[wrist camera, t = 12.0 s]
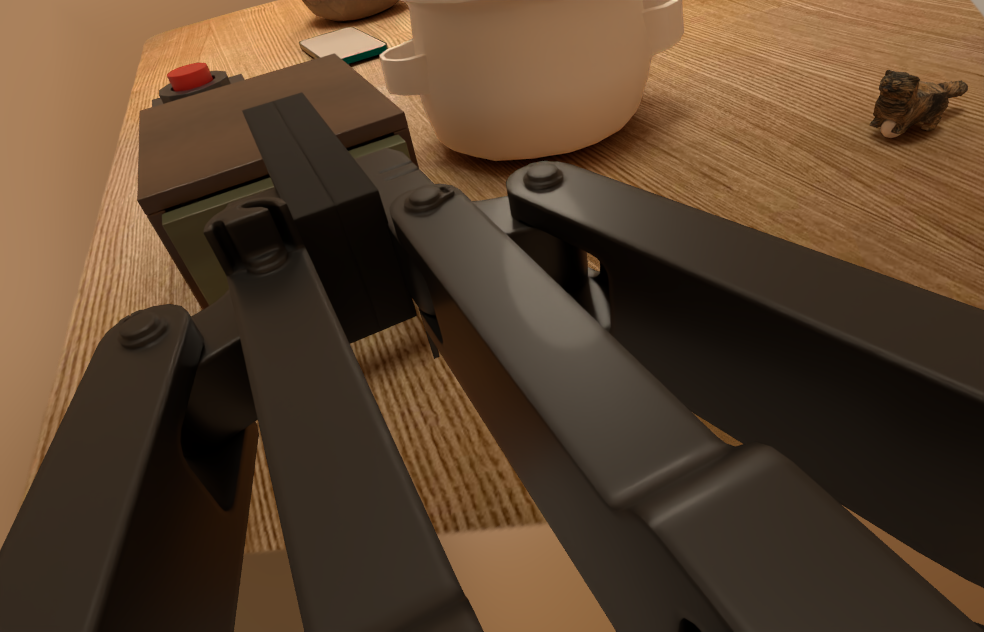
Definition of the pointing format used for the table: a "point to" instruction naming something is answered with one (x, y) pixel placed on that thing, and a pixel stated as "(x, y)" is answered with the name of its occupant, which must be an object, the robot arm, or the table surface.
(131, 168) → the table surface
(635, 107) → the pot
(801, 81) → the table surface
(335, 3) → the bowl
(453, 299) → the robot arm
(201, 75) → the button
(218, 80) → the button block
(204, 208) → the drawer
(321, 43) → the smartphone
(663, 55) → the table surface
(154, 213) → the cabinet
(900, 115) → the cat figurine
